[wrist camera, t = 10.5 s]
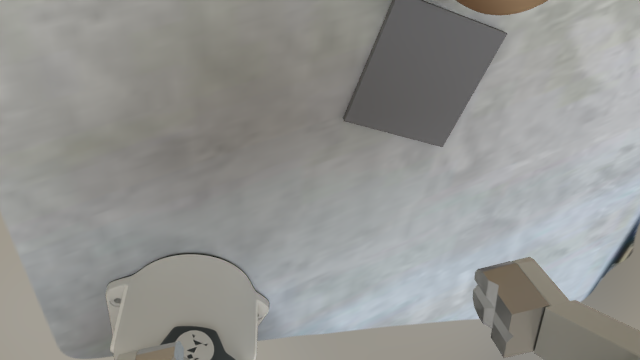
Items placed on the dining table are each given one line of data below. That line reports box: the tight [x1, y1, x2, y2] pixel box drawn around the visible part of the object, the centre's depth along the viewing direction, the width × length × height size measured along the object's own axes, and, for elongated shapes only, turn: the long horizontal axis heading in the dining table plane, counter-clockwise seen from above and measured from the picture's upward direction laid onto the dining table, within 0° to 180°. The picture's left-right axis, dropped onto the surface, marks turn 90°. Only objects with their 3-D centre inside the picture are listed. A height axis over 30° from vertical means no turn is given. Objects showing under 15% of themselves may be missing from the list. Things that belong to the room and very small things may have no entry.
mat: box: [343, 0, 507, 147], centre depth 40 cm, size 12×11×1 cm
